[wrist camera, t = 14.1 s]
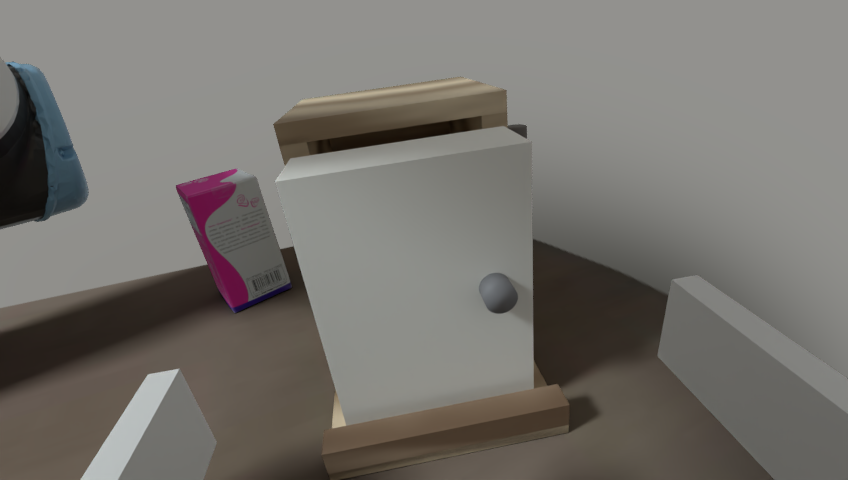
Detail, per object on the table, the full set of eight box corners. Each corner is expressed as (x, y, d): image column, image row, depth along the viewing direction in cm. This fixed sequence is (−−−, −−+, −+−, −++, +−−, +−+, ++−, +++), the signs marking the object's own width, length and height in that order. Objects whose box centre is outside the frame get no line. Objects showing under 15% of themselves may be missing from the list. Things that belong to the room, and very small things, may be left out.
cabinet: (345, 279, 40) (302, 99, 33) (488, 254, 41) (477, 74, 34) (330, 481, 22) (221, 167, 14) (593, 427, 22) (619, 107, 15)
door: (350, 380, 27) (290, 158, 21) (511, 350, 28) (503, 125, 21) (347, 450, 22) (268, 190, 16) (541, 410, 23) (542, 147, 17)
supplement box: (272, 268, 44) (239, 165, 39) (293, 288, 40) (258, 175, 35) (217, 291, 41) (173, 183, 36) (233, 315, 37) (185, 196, 32)
